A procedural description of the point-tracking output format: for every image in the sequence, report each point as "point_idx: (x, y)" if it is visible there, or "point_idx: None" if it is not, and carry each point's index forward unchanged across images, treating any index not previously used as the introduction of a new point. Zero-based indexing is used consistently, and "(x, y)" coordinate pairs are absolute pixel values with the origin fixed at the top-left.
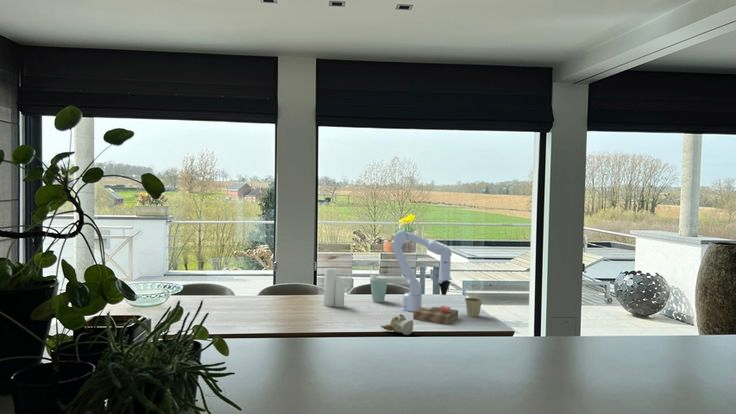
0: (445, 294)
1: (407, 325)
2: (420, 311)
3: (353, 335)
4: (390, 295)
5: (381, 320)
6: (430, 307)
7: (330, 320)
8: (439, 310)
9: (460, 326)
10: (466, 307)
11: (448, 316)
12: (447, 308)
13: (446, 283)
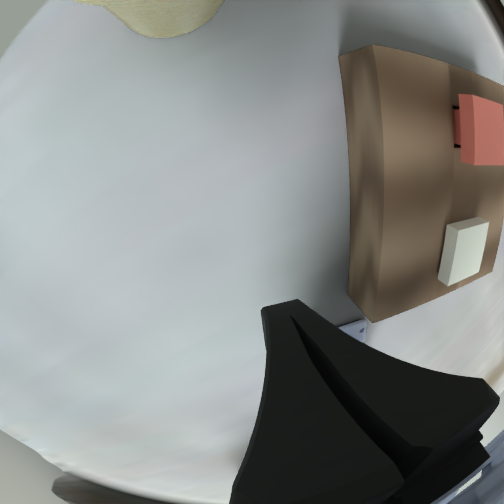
0: (294, 303)
1: None
2: (492, 245)
3: None
4: (149, 489)
5: (492, 306)
6: (482, 227)
7: (495, 357)
8: (451, 174)
9: (461, 23)
10: (201, 10)
11: (497, 84)
12: (499, 105)
13: (495, 399)
